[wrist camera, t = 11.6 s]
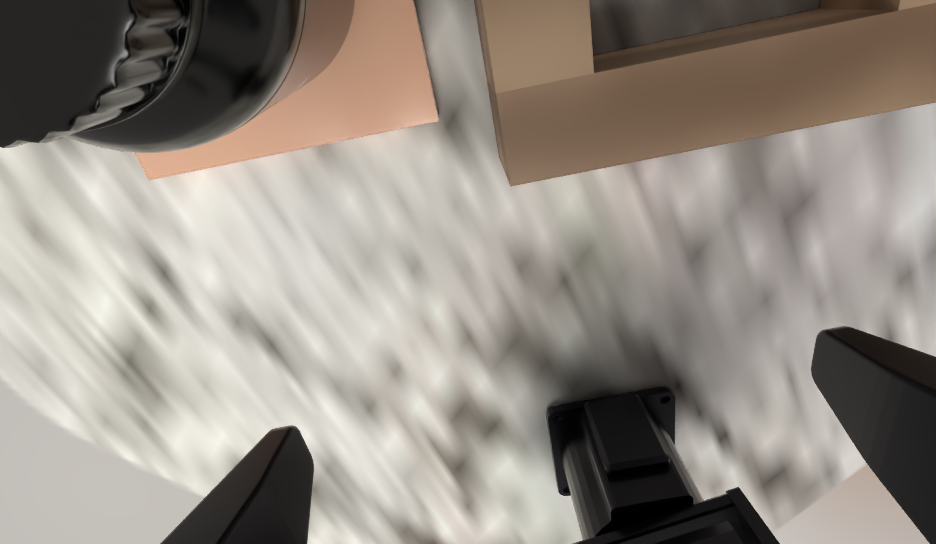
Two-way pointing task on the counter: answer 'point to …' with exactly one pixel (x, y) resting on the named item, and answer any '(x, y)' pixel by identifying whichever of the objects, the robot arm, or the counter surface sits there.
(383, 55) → the terracotta coaster
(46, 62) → the supplement bottle
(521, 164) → the walnut caddy
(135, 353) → the counter surface
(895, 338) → the counter surface
